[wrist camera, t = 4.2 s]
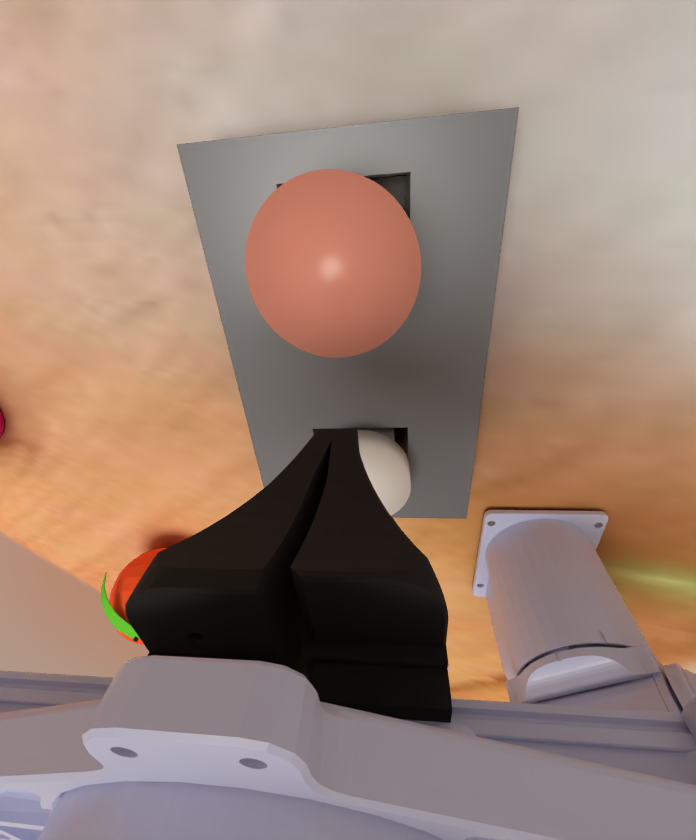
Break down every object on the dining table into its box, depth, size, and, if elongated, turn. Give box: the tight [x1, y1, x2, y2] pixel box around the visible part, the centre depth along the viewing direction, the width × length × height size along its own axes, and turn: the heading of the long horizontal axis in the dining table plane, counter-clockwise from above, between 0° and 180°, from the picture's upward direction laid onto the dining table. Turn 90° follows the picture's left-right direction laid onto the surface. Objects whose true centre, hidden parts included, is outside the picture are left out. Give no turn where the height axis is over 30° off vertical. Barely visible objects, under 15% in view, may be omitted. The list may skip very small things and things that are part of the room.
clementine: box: [101, 548, 167, 645], centre depth 29 cm, size 8×7×7 cm
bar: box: [177, 107, 519, 519], centre depth 19 cm, size 19×12×4 cm, turn 4°
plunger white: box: [330, 428, 411, 515], centre depth 22 cm, size 5×5×5 cm
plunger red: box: [245, 169, 421, 358], centre depth 13 cm, size 5×5×5 cm
